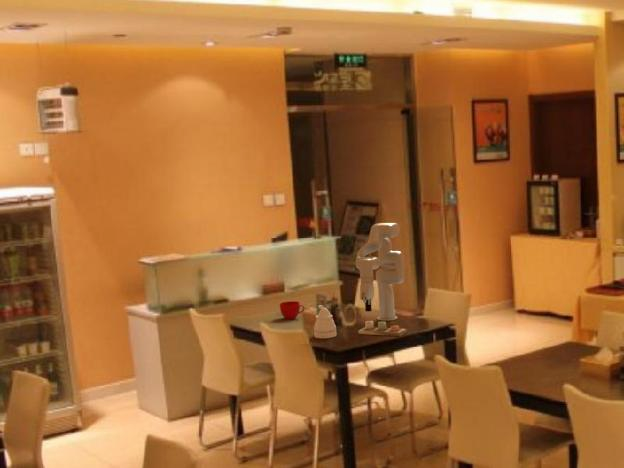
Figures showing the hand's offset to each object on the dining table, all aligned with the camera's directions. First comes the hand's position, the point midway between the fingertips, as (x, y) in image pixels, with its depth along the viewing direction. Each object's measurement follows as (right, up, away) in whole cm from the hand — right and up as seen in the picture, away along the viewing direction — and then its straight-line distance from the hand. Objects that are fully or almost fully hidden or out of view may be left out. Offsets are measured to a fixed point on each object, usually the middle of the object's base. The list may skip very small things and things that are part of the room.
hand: (368, 311), depth 504 cm
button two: (+8, -10, -3) cm, 13 cm away
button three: (+15, -12, -6) cm, 20 cm away
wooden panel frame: (+8, -13, -2) cm, 15 cm away
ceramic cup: (-45, -10, +58) cm, 75 cm away
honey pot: (-25, -15, 0) cm, 29 cm away
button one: (+1, -10, +1) cm, 10 cm away
